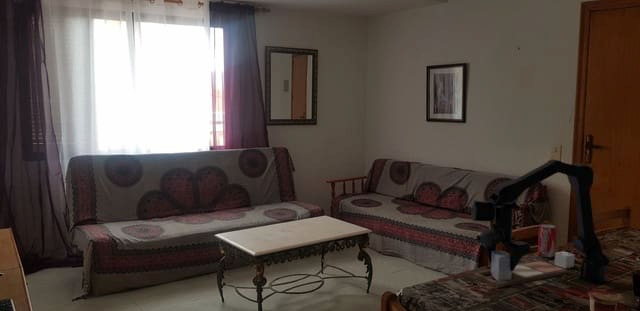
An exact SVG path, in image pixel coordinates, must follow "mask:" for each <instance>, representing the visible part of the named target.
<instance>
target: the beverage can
mask: <svg viewBox="0 0 640 311" xmlns="http://www.w3.org/2000/svg"><path fill="white" fill-rule="evenodd" d="M557 231H558V230H557V228H556V226H555V225H553V224H547V223H545V224H540V226H539V228H538V241H537V242H538V244H537V254H538V255H539V256H540V255H541V257H544V258H553V257H555V253H556V249H557V233H558V232H557Z"/></svg>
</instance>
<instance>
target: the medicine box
mask: <svg viewBox="0 0 640 311" xmlns="http://www.w3.org/2000/svg"><path fill="white" fill-rule="evenodd" d="M490 269H491V274H490V275H491V276H492V277H493V278H494V279H495V281H497V282H500V281H505V280H510V279H512V276H511V274H512V271H510V255H509V254H508V252H506V251H505V250H495V251H492V253H491V263H490Z"/></svg>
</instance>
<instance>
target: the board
mask: <svg viewBox="0 0 640 311" xmlns="http://www.w3.org/2000/svg"><path fill="white" fill-rule="evenodd" d="M568 272H569V271H568V270H567V269H566V268H563V267H560V266H557V265H555V264H550V263H549V262H548V263H547V262H545V261H542V260H535V261H528V262H524V263H518V264H517V265H516V267H515V269H514V270H513V271H512V274H511V277H514V278H511V279H510V280H505V281H500V282H498V281H497V280H494V279H492V278H490V277H487V275H488V276H489V275H491V268H487V269H483V270H476V271H472V272H470V277H473V278H475V279H476V280H479V281H482V282H483V283H486V284H488V285H490V284H491V285H490V286H492V285H493V287H494V288H497V289H499V288H503V287H508V286H513V285H517V284H522V283H523V284H524V283H527V282H531V281H537V280H541V279H546V278H547V279H548V278H552V277H556V276H561V275H566V274H568Z"/></svg>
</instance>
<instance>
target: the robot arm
mask: <svg viewBox="0 0 640 311" xmlns="http://www.w3.org/2000/svg"><path fill="white" fill-rule="evenodd" d="M555 174H563V175H566V177H567V180H568V182H569V184H570V186H571V188H572V190H573V194H574V203H575V212H576V219H577V229H578V232H577V235H576V236H572V241H573V249H575V251H576V252H577V253H578V254H579V256H580V259H582V261H581V263H580V274H579V276H578V277H577V278H578V279H581V280H584V281H586V282H589V283H592V284H594V285H595V284H596V285H597V284H601V283H606V282H608V279H607V278H606V277H605V276H606V267H608V266H609V263H610V261H611V259H609V258H608V256H606V255H605V253H603V247H602V245H601V242H600V241H601V240H600V239H599V237H598V236H597V234H596V231H595V225H594V224H595V223H594V216H593V215H594V214H593V206H592V197H591V189H592V186H593V184H594V177H595V176H594V174H595V172H594V169H593V168H592V167H590V166H589V165H587V164H582V163H578V162H577V163H576V162H574V163H571V164H570V163H566V162H564V161H561V160H558V159H555V158H551V159H549V160H548V161H547V162H545V163H544V164H542V165H540V166H538V167H537V168H535V169H532V170H530V171H529V172H527V173H525V174H522V175H521V176H519V177H517V178H515V179H511V180H506V181H502V182H499V183H497V184H496V185H495V186H494V189H493V193H491V195H490V196H489V197H488V199H487V200H484V201H482V200H480V201H479V200H473V204H472V205H471V209H470V216H471V217H470V218H471V220H472V221H473V222H492V220H494V222H493V223H491V225H490V227H489V229H487V230H483V231H482V230H481V231H479V232H478V233H477V234H476V241H479V243H480V244H481V245H482V246H483V247H484V249H485V251H486V252H485V253H486V255H487V257H488V262H489V263H490V264H491V253H492V251H497V245H499V244H500V245H502V246H506V247H508V248H507V249H508V251H507V254H508V255H509V256H510V271H513V270H514V269H515V267H516V265H517V264H519V262H520V261H521V259H522V258H523V256H524V255H526V254H528V253H531V249H532V248H531V245H530V243H529V242H525V241H522V240H519V241H514V240H515V239H516V238H515V236H513V229H516V225H515V224H513V220H514V210H520V209H521V207H520V206H519V205H518V204H517V202H516V200H517V199H518V198H519V197H521V196H522V194H523V193H524V192H525V191H526V190H527V189H530V188H531V187H533V186H535V185H537V184H539V183H541V182H542V181H545V180H546V179H548V178H550V177H552V176H554V175H555Z"/></svg>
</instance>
